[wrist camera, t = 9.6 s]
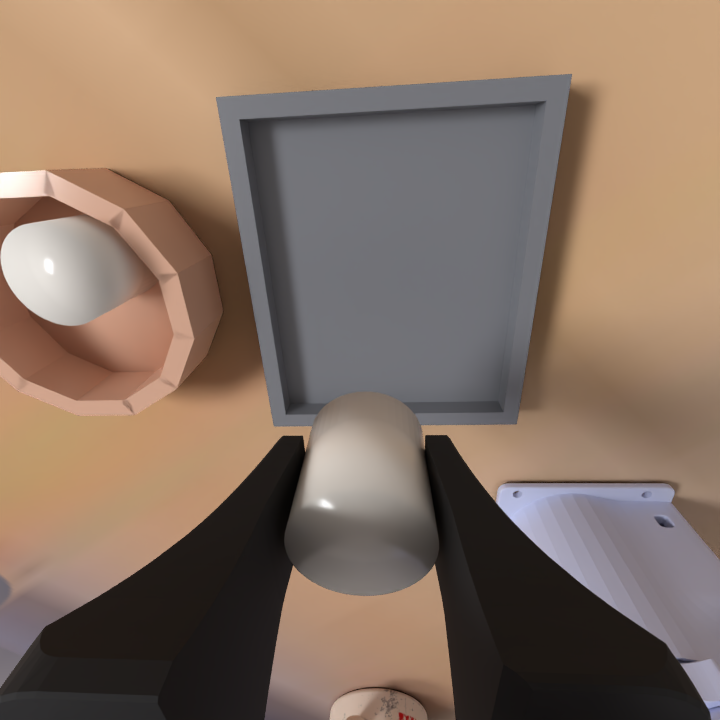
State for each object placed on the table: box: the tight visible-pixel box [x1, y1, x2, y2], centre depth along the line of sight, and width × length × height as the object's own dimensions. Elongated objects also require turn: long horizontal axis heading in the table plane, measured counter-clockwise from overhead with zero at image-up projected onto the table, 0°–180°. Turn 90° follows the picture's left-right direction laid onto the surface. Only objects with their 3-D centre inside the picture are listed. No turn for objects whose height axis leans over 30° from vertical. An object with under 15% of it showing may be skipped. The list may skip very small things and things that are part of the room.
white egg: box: [0, 214, 158, 326], centre depth 16 cm, size 4×4×4 cm
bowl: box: [0, 168, 223, 416], centre depth 17 cm, size 10×10×3 cm
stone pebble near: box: [284, 392, 439, 596], centre depth 11 cm, size 4×4×4 cm
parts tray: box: [216, 74, 572, 426], centre depth 17 cm, size 12×14×2 cm
